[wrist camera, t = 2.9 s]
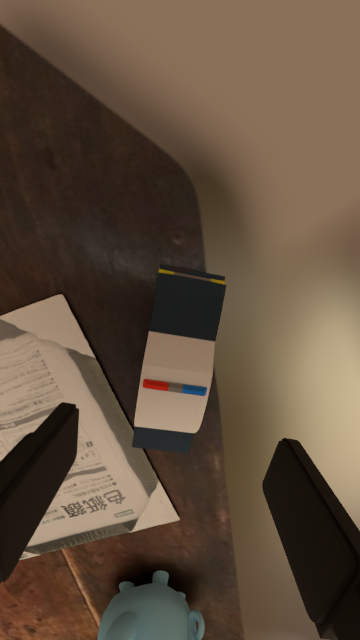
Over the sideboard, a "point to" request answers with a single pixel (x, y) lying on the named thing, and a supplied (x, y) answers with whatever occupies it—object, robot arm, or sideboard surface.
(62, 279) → the sideboard surface
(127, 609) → the teapot
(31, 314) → the picture frame
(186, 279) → the toy car
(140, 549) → the sideboard surface
